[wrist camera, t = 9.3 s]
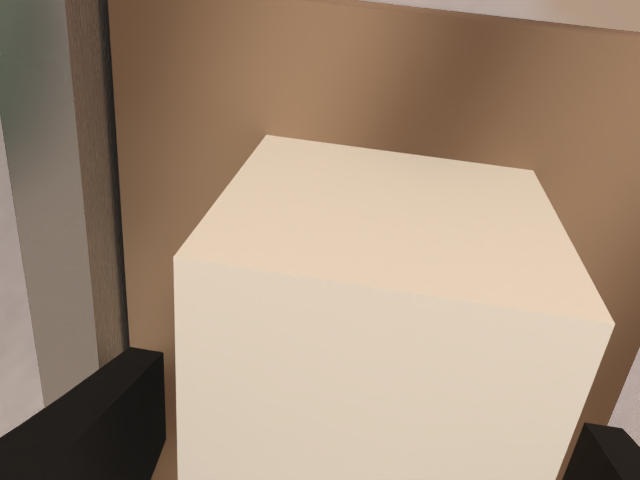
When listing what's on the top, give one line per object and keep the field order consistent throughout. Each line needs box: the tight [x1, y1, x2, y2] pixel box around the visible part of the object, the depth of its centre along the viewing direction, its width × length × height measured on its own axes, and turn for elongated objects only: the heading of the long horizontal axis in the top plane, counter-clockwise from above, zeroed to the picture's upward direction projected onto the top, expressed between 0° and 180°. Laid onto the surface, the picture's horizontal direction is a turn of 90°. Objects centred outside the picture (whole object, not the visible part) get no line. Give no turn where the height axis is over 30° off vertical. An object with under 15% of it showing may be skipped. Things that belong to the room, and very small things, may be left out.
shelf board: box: [108, 0, 640, 480], centre depth 14 cm, size 11×13×1 cm
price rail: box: [0, 0, 130, 407], centre depth 14 cm, size 2×13×2 cm, turn 175°
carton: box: [173, 135, 615, 480], centre depth 11 cm, size 8×5×5 cm, turn 175°
